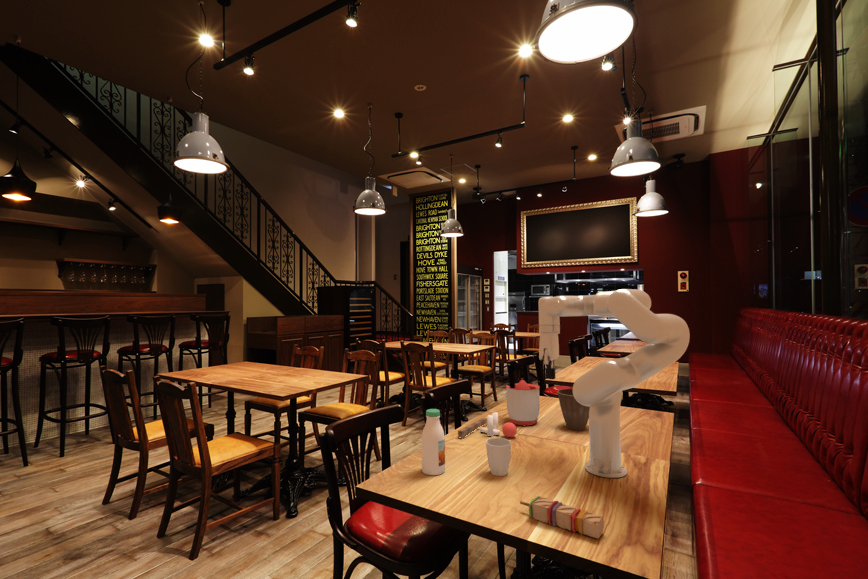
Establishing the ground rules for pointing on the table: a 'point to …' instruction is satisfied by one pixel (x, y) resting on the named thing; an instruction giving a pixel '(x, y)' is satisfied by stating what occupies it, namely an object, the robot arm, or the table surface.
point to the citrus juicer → (523, 403)
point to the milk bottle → (433, 444)
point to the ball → (509, 429)
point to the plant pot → (573, 410)
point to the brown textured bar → (471, 427)
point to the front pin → (495, 432)
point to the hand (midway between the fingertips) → (550, 378)
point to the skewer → (565, 516)
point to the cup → (498, 455)
